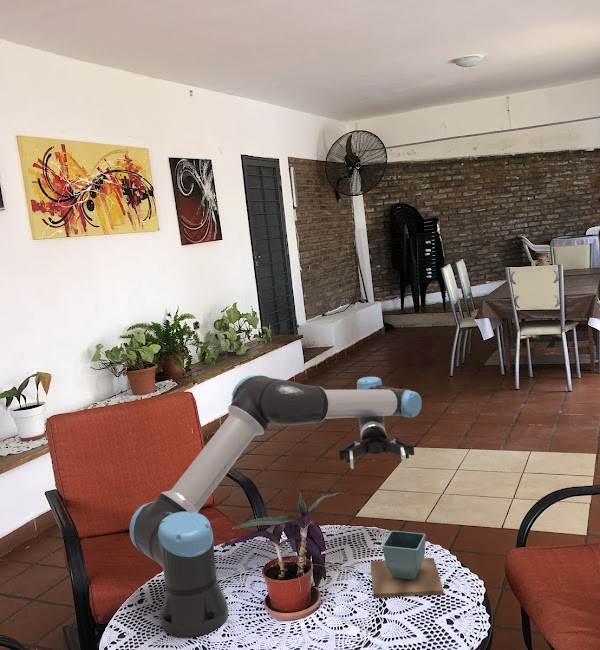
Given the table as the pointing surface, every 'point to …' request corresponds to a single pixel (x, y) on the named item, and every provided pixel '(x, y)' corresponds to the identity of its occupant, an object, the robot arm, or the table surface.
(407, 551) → the flower pot
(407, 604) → the table surface
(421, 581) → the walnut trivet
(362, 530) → the table surface
